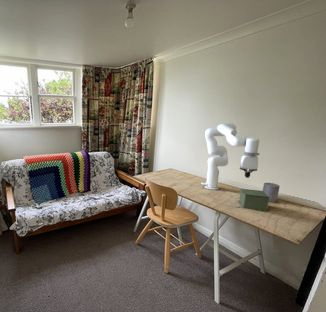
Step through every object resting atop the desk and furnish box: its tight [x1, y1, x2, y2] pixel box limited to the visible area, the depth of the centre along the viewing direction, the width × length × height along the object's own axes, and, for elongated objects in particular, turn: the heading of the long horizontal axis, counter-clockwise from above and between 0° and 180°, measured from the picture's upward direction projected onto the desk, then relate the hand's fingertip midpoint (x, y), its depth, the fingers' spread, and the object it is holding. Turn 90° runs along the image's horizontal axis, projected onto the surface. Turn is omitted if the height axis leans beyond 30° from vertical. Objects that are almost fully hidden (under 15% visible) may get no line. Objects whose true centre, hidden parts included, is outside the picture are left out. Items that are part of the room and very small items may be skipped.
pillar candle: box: [262, 182, 281, 203], centre depth 158 cm, size 10×10×15 cm
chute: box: [238, 188, 270, 212], centre depth 149 cm, size 14×13×11 cm
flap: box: [241, 188, 257, 196], centre depth 149 cm, size 7×13×1 cm, turn 154°
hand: (247, 177), depth 148 cm, fingers closed
